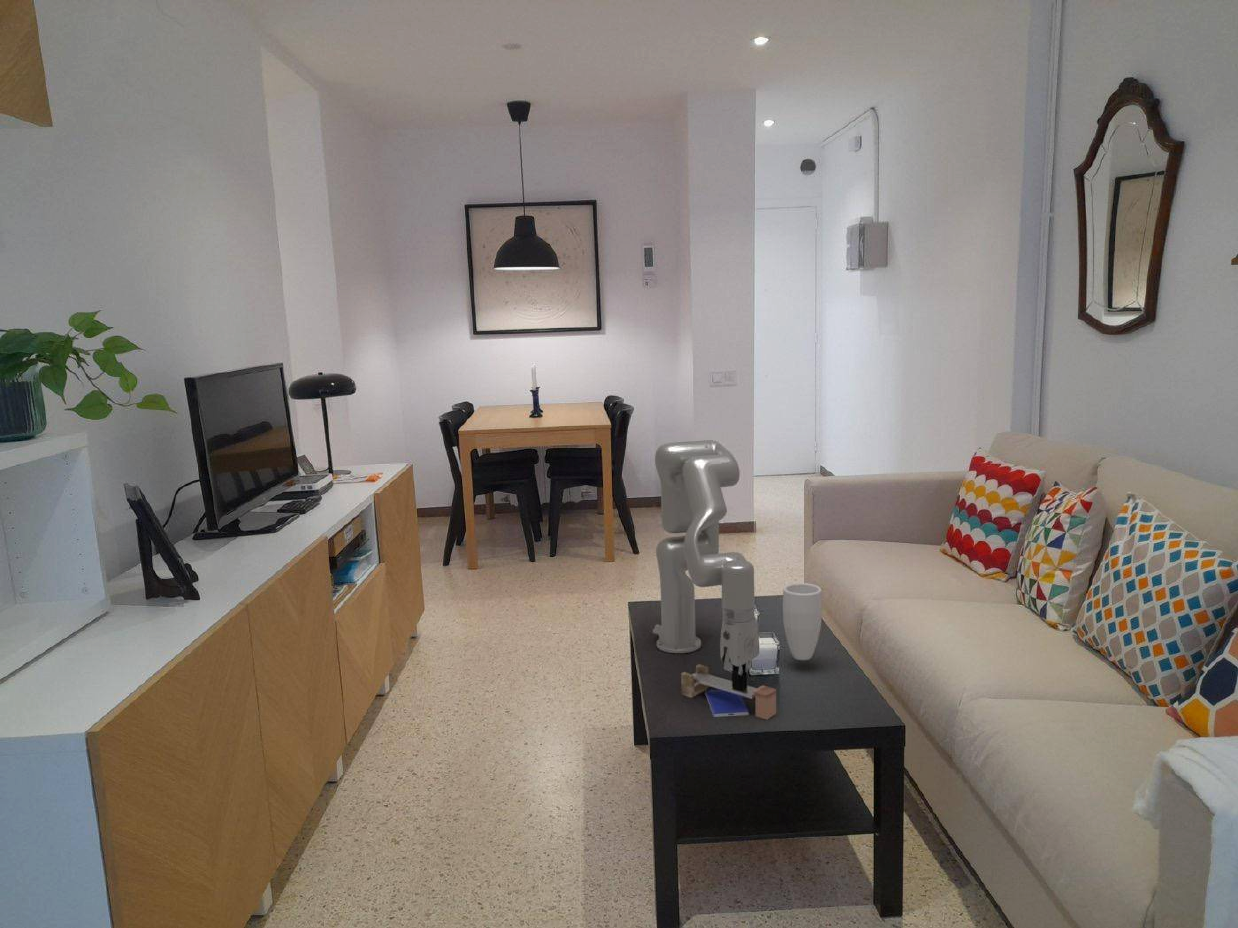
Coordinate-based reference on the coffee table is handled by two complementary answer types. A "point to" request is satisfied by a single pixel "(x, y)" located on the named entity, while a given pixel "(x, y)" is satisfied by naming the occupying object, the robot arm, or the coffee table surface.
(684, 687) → the pivot bracket
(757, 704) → the block
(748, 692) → the grey long flat bar
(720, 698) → the hard drive
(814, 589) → the cup
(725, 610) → the robot arm
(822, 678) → the coffee table surface
